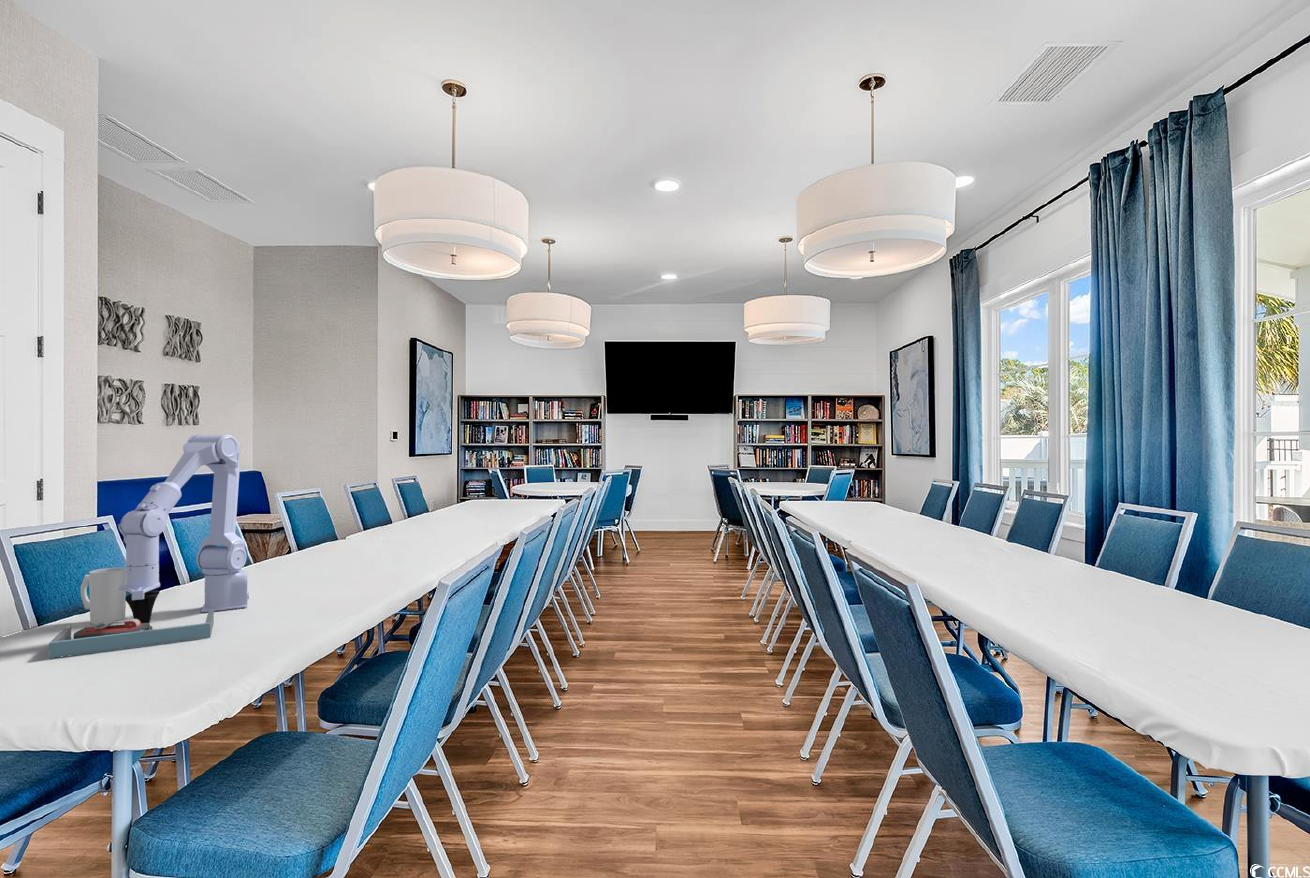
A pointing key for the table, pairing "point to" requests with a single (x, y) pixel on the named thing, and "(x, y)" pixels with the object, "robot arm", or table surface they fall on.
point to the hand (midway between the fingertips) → (142, 626)
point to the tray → (128, 639)
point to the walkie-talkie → (113, 628)
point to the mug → (105, 595)
